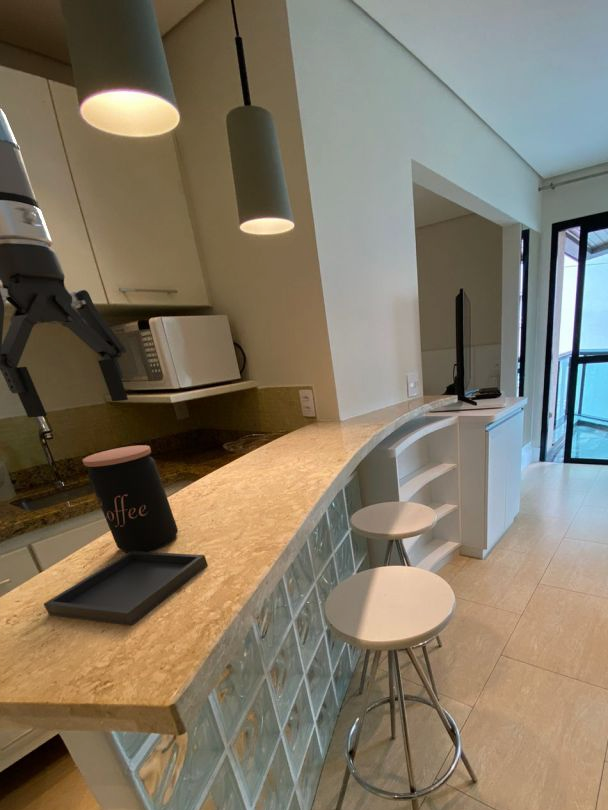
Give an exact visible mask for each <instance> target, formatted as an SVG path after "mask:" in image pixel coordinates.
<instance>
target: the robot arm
mask: <svg viewBox="0 0 608 810" xmlns="http://www.w3.org/2000/svg"><path fill="white" fill-rule="evenodd" d="M24 161H25V160H24V159H23V155H22V152H21V147H20V145H19V144H18V142H17V140H16V138H15V136H14V133H13V131H12V128H11V126H10V123H9V121H8V118H7V116H6V114H5V112H4V111H3V109H2V108H1V107H0V282H1V284H2V287H0V372H1V375H2V376H3V378H4V381H5V382H6V386H7V387H8V390H9V391H10V392H11V393H12V394H17V395H18V397H19V398H18V399H19V400H20V402H21V404H22V407H23V409H24V411H25V413H26V415H27V418H39V417H40V418H41V417H42V418H43V417H46V416H48V415H47V412H46V410H45V408H44V405H43V402H42V400H41V398H40V396H39V394H38V390H37V388H36V386H35V383H34V382H33V379H32V376H31V375H30V372H29V370H28V367H27V366H19V367H18V365H19V363H20V360H21V358H22V355H23V352H24V351H25V348H26V346H27V343H28V341H29V338H30V336H31V334H32V330H33V328H34V326H36V325H43V324H49V325H59V324H60V325H61V326H63V327H65V328H67V329H68V330H70V331H71V332H72V333H73V334H74V335H75V336H77V337H78V338H79V339H80V340H81V341H82V342H83V343H85V345H86V346H88V347H89V348H90V349H91V350H92V351H94V352H95V353H96V354H97V355H98V356H99V357H100V358H102V359H99V360H97V362H98V365H99V368H100V370H101V373H102V376H103V379H104V382H105V384H106V387H107V390H108V393H109V395H110V400H111V401H112V402H121V401H127V400H129V398H128V395H127V392H126V389H125V387H124V383H123V380H122V379H124V375H123V371H122V369H121V366H120V363H119V360H118V359H119V358H120V359H121V358H122V357H123V354H125V353H127V349H126V347H125V346H124V344H123V343H122V341H121V340H120V339H119V337H118V336H117V335H116V334H115V332H114V331H113V329H112V328H111V326H110V324H108V323H107V321H106V320H105V318H103V317H104V316H102V315H101V313H100V312H99V310H98V309H97V308H96V307H95V304H94V302H93V299H92V298H91V295H90V293H89V292H88V291H87V290H85V289H81V290H77V291H76V290H75V291H71V292H70V291H69V290H68V289H67V287H66V286H65V276H66V275H65V273H64V270H63V267H62V265H61V262H60V259H59V256H58V253H57V252H56V251H55V250H54V249H52V248H51V246H52V245H53V240H52V238H51V237H52V236H51V235H50V232H49V229H48V227H47V224H46V220H45V218H44V215H43V213H42V211H41V208H40V205H39V202H38V201H37V198H36V196H35V193H34V189H33V186H32V183H31V180H30V176H29V174H28V171H27V168H26V167H27V166H26V165H25V162H24ZM7 302H8V303H9V304H10V305H11V306H12V307H13V308H14V309H13V312H12V315H11V317H10V325H9V327H8V329H7V331H6V334H5V337H4V339H3V336H4V335H3V333H4V322H5V321H4V320H5V319H4V318H5V304H6V303H7ZM74 307H75V309H74Z"/></svg>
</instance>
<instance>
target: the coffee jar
mask: <svg viewBox="0 0 608 810" xmlns="http://www.w3.org/2000/svg"><path fill="white" fill-rule="evenodd" d="M151 449H152V448H151V447H150V445H145V444H143V445H141V444H140V445H139V444H137V445H129V446H123V447H117V448H112V449H108V450H104V451H100V452H96V453H93V454H90V455H87V456H86V457H84V458H82V464H83V465H84V466H85V467H87V468H88V472H87V477H88V480H89V481H90V484H91V486H92V490H93V492H94V494H95V496H96V499H97V501H98V504H99V506H100V509H101V511H102V513H103V516H104V518H105V521H106V523H107V526H108V528H109V531H110V533H111V535H112V539H113V540H114V542H115V545H116V548H118V549H119V550H120V551H122V552H124V553H125V554H127V553H129V552H131V551H141V552H154V551H155V550H158V549H161V548H163V547H165V546H167V545H169V544H170V543H172V542H173V541H175V539H176V537H177V534H178V532H179V529H178V525H177V522H176V520H175V517H174V515H173V511H172V509H171V505H170V502H169V499H168V496H167V493H166V491H165V488H164V484H163V481H162V478H161V476H160V473H159V470H158V467H157V463H156V460H155V459H154V458H153V457H151V453H152V450H151Z"/></svg>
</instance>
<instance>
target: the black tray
mask: <svg viewBox="0 0 608 810" xmlns="http://www.w3.org/2000/svg"><path fill="white" fill-rule="evenodd" d="M206 567H208V561H207V558H206V555H205V554H193V553H192V554H191V553H176V552H175V553H174V552H157V551H149V552H141V551H131V552H129V553H125V554H124V555H123V556H121V557H119V558H117V559H116V560H114V561H112V562H111V563H109V564H108V565H105V566H104V567H102V568H101V569H98V571H96V572H94V573H93V574H90V575H89V576H88V577H86V578H84V579H82V580H81V581H79V582H78V583H76V584H74V585H73V586H70V587H69V588H67V589H65V590H64V591H62V592H61V593H59V594H58V595H56V596H54V597H52V598H50V599H49V600H47V601H46V602H44V603H43V607H44V609H45V610H46V612H47V614H48V616H53V617H62V618H70V619H78V620H85V621H93V622H103V623H110V624H118V625H123V626H125V625H126V626H134V625H135V624H136V623H137V622H139V621H140V620H141V619H142V618H143V617H145V616H146V615H147V614H148V613H150V612H151V611H152V610H153V609H155V608H156V607H158V605H160V604H161V603H162V602H164V601H165V600H166V599H168V597H170V596H171V595H172V594H173V593H175V592H176V591H178V590H179V589H180V588H181V587H183V586H184V585H185V584H186V583H187V582H189V581H190V580H191V579H192V578H194V577H195V576H197V574H199V573H200V572H201V571H203V570H204V569H205V568H206Z"/></svg>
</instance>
